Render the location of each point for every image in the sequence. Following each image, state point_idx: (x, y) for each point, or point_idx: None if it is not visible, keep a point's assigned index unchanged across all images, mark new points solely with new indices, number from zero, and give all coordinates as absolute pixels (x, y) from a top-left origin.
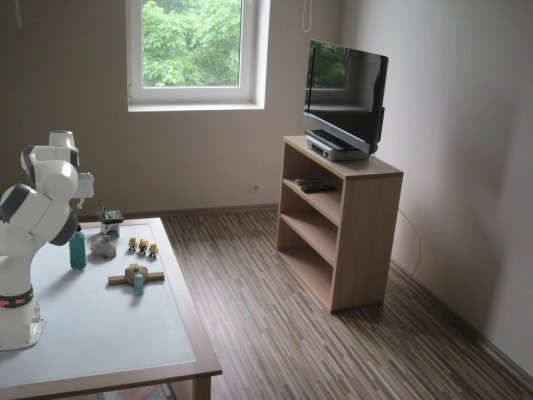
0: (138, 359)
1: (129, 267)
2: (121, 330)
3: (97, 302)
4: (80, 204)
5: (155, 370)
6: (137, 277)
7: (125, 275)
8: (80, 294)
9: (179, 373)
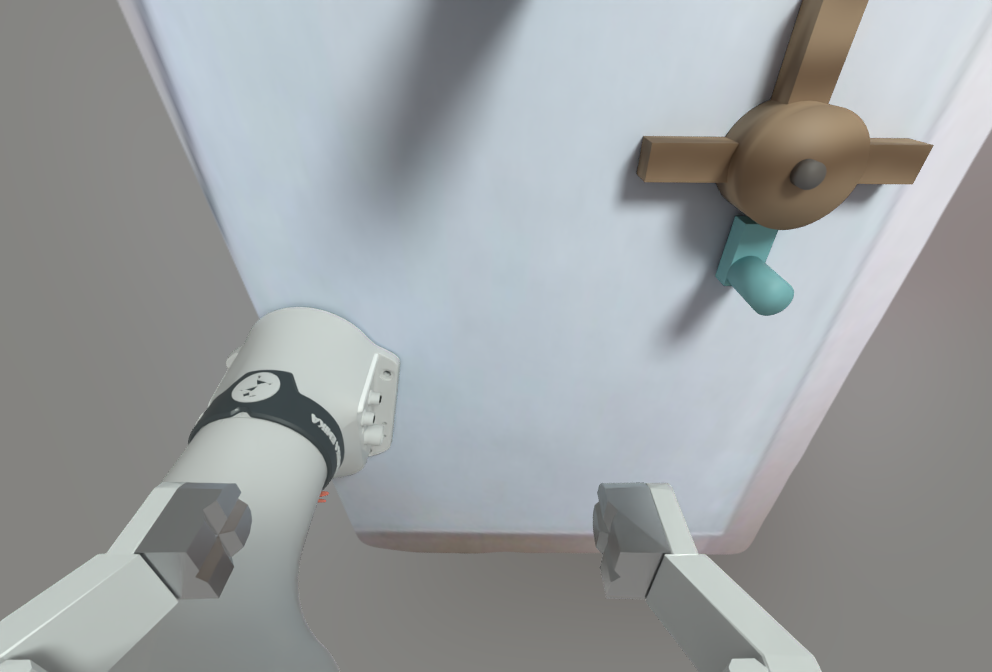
0: None
1: (787, 126)
2: (605, 433)
3: (566, 291)
4: (659, 605)
5: None
6: (762, 309)
7: (734, 180)
8: (509, 220)
9: None
